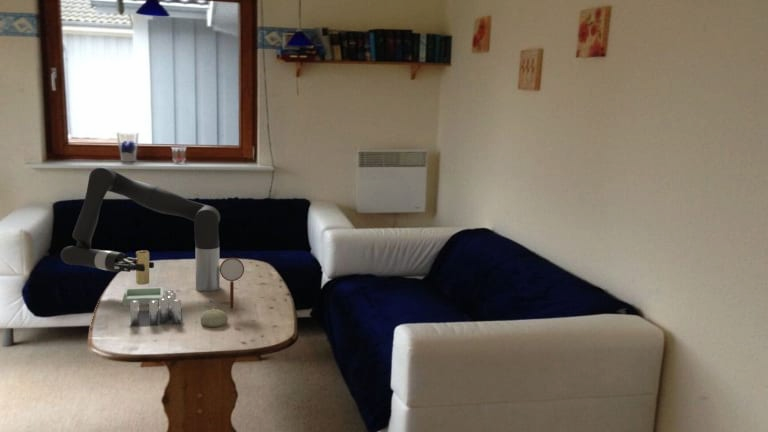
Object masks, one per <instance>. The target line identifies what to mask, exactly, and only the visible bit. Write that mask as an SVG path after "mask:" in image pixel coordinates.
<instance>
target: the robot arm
mask: <svg viewBox="0 0 768 432" xmlns="http://www.w3.org/2000/svg"><path fill="white" fill-rule="evenodd" d="M108 192H110V193H114V194H118V195H120V196H123V197H126V198H128V199H130V200H131V201H133V202H134V203H136V204H138V205H140V206H142V207H144V208H146V209H150V210H151V211H154V212H158V213H160V214H165V215H171V216H178V217H181V218H186V219H188V220H190V221H192V222H194V223H193V225H194V229H193V230H194V242H195V289H196V291H199V292H213V291H219V290H220V287H221V286H220V285H221V283H220V279H221V278H220V277H221V273H220V266H221V265H220V238H219V237H220V236H219V223H220V221H221V214H220V212H219V210H218V209H217V208H215V207H214V206H211V205H208V204H203V203H201V202H197V201H193V200H190V199H189V198H188V199H187V198H186V197H183V196H181V195H178V194H176V193H174V192H171V191H169V190H166V188H165V189H164V188H162V187H159V186H157V185H153V184H151V183H147V182H144V181H140V180H136V179H133V178H130V177H128V176H125V175H124V174H122V173H120V172H118V171H116V170H114V169H112V168H110V167H105V166H100V167H99V166H98V167H95V168H94V169H93V170H91V172H90V173H89V177H88V181H87V187H86V193H85V198H84V201H83V203H82V207H81V210H80V212H79V213H80V214H79V215H78V218H77V221H76V224H75V226H74V228H73V229H74V230H73V232H72V238H73V239H74V241H76V246H75V245H69V246H66V247H63V249H62V250H61V251H60V259H61V260H62V261H63V263H65V264H67V265H70V266H71V265H72V266H80V267H81V266H83V267H87V268H88V267H89V268H93V269H94V268H95V269H99V270H104V271H109V272H112V273H121V272H128V273H130V272H131V271H132V272H136V271H142V272H143V271H145V266H144V265H138V264H136V257H135V258H134V257H132V256H131V257H129V256H128V257H127V255H126V254H125V253H123V252H120V251H114V250H104V249H103V250H101V249H94V248H92V239H93V236H94V235H95V234H94V233H95V230H96V227H97V225H98V221H99V217H100V211H101V206H102V203H103V200H104V199H105V196H106V194H107V193H108ZM154 268H155V263H154V262H153V261H149V269H154Z"/></svg>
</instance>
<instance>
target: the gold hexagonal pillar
mask: <svg viewBox="0 0 768 432" xmlns="http://www.w3.org/2000/svg"><path fill="white" fill-rule="evenodd" d="M135 258H136V264H138V265H144V266H145V271H143V272H142V271H136V270H135V282H136V285H145V286H146V285H149V284H150V268H149V262H150V252H149V250H137V251H135Z"/></svg>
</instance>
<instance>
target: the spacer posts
mask: <svg viewBox="0 0 768 432" xmlns="http://www.w3.org/2000/svg"><path fill="white" fill-rule="evenodd" d="M174 291H175V290H172V289H167V290H165V297H163V298H162V299H159V304H158V301H157V300H151V301H149V305H148V306H149V308H148V309H149V315H150V325H158V310H159V323H167V322H168V320H173V324H180V325H182V324H181V309H182V300H181V299H177V293H176V292H174ZM129 310H130V312H129V313H130V324H131V325H132V326H137V325H139V311H140V305H139V301H137V300H133V301H130V306H129Z"/></svg>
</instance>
